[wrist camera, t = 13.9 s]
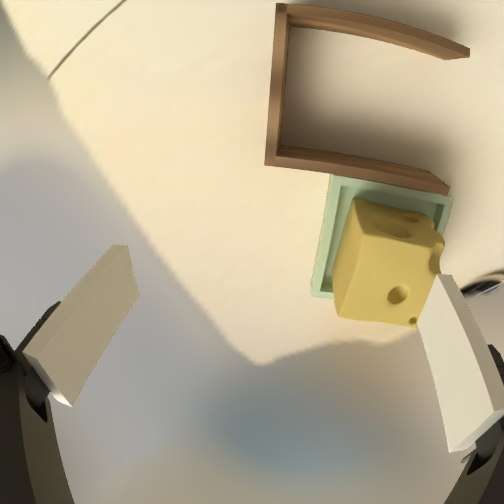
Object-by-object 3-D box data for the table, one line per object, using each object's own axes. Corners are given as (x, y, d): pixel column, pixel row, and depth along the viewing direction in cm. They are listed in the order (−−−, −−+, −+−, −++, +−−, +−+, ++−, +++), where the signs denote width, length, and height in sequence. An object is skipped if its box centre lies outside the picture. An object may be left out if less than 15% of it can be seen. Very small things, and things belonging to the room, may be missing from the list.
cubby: (280, 17, 25) (276, 3, 20) (445, 52, 23) (469, 48, 18) (270, 153, 33) (264, 165, 28) (427, 179, 32) (447, 196, 26)
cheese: (426, 211, 33) (459, 251, 24) (398, 283, 38) (417, 334, 30) (348, 192, 34) (363, 229, 25) (326, 270, 39) (331, 323, 30)
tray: (331, 169, 33) (333, 175, 31) (445, 191, 32) (453, 198, 30) (310, 285, 41) (310, 296, 39) (410, 296, 40) (414, 307, 38)
